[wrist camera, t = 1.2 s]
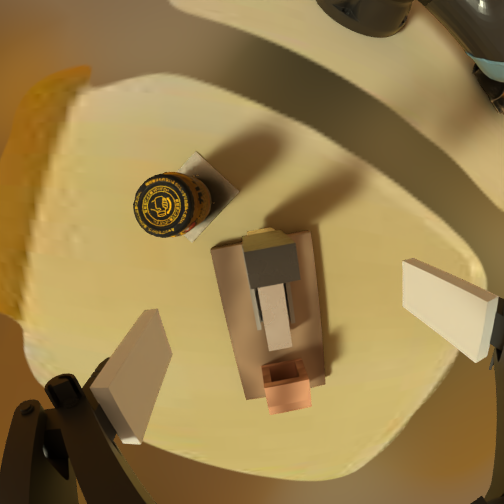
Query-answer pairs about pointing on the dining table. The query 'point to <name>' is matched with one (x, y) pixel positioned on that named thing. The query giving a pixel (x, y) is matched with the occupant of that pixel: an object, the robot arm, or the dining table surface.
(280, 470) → the dining table surface
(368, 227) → the dining table surface
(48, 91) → the dining table surface
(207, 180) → the condiment
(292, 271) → the mallet
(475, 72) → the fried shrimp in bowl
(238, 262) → the rail slide board
